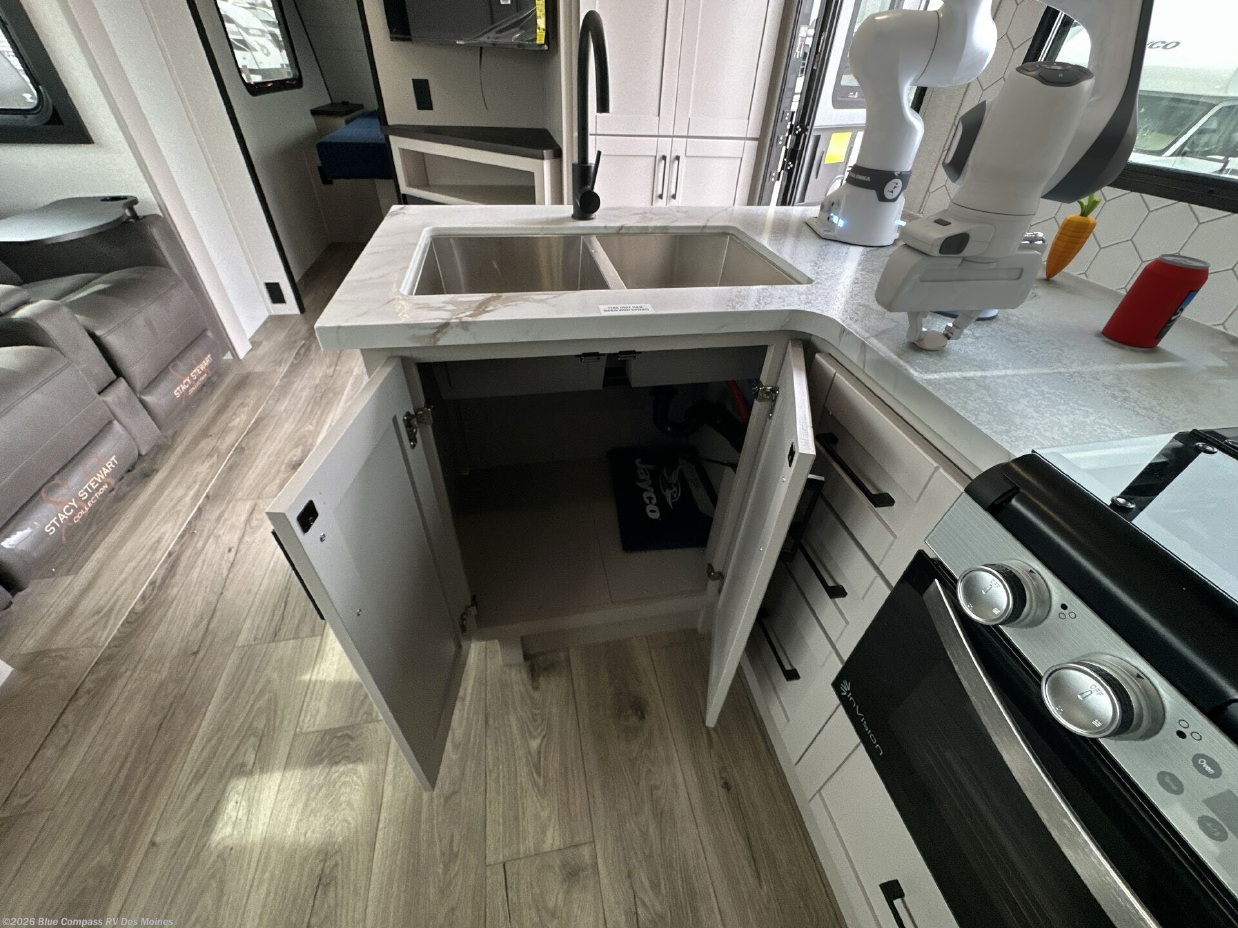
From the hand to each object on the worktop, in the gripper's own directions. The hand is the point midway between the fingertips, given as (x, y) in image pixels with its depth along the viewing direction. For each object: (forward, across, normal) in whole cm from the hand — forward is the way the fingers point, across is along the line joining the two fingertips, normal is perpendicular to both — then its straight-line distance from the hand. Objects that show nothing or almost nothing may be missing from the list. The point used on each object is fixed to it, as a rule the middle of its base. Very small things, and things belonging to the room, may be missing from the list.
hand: (931, 339), depth 70 cm
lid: (+1, -15, -14) cm, 20 cm away
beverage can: (+2, -34, 0) cm, 34 cm away
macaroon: (+2, 0, 0) cm, 2 cm away
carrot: (+2, -46, -27) cm, 53 cm away
